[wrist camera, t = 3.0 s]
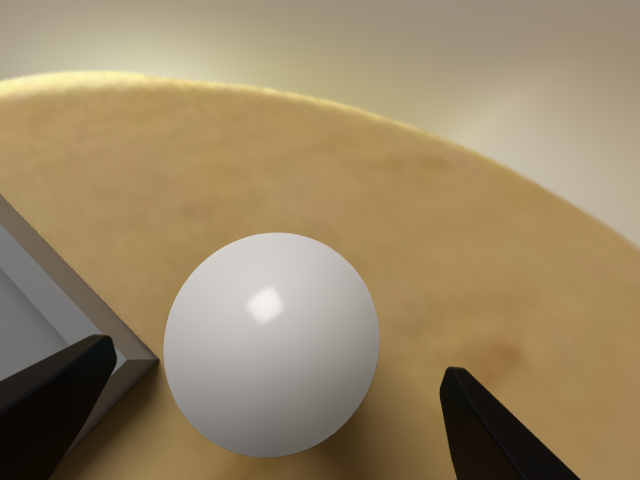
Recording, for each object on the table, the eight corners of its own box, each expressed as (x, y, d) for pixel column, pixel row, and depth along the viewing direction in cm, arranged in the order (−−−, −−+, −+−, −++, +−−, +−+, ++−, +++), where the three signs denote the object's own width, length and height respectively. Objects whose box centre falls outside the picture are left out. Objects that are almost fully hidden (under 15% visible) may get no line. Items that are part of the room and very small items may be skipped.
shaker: (301, 422, 15) (279, 539, 6) (228, 352, 17) (103, 347, 7) (363, 340, 17) (433, 317, 7) (292, 280, 18) (267, 187, 8)
